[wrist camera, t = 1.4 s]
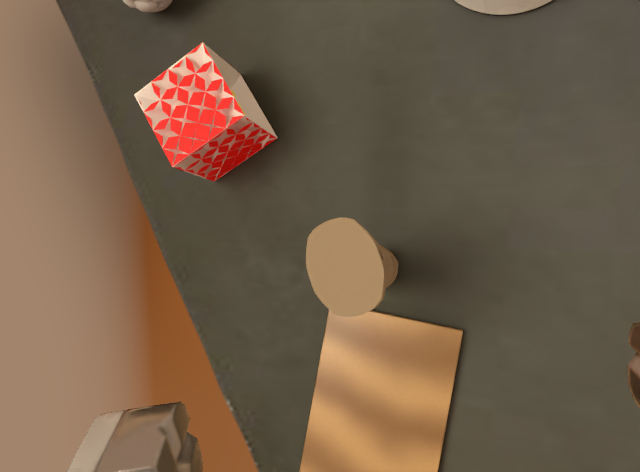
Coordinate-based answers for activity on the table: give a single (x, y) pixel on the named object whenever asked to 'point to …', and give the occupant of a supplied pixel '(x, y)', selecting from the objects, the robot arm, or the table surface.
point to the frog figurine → (148, 5)
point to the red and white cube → (204, 115)
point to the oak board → (381, 395)
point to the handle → (348, 267)
